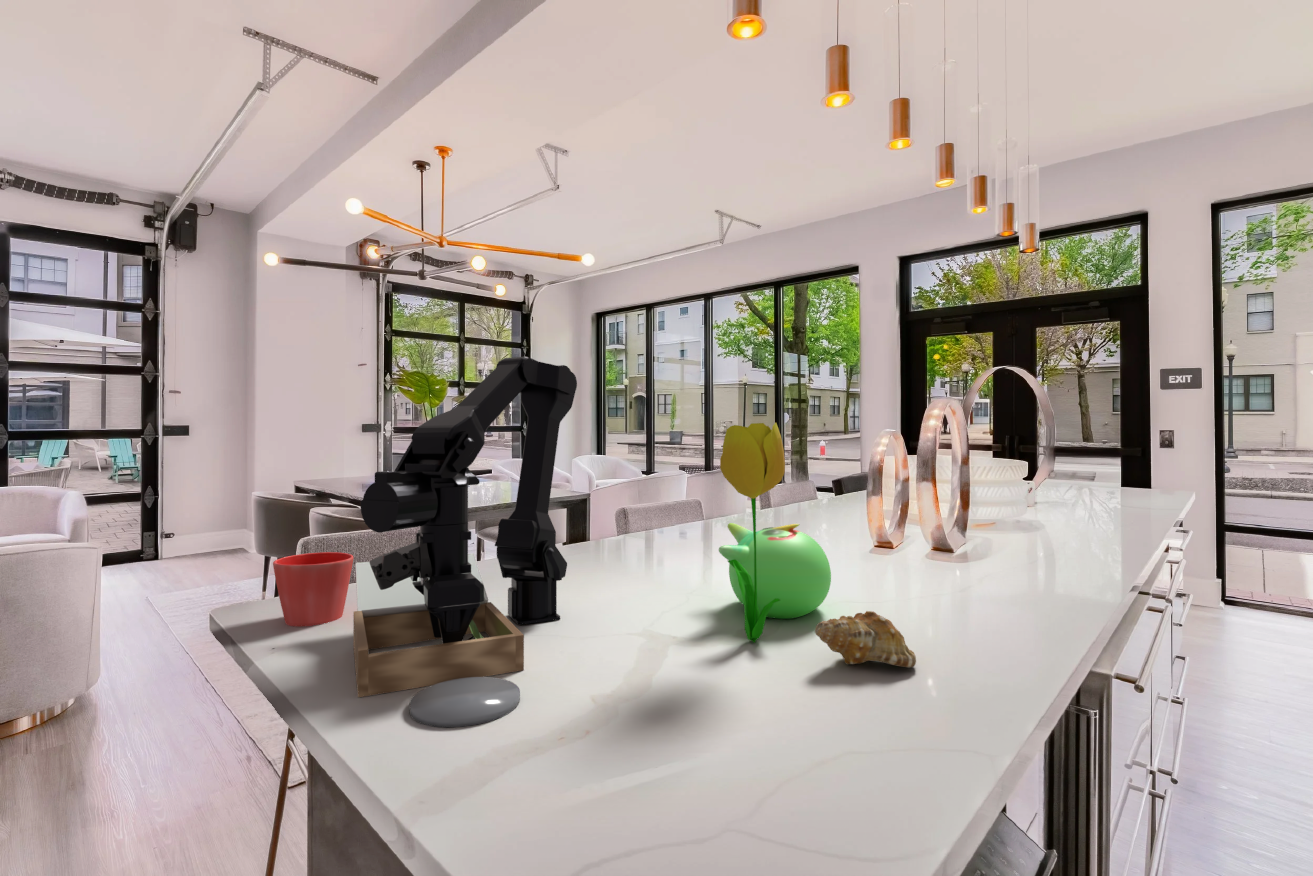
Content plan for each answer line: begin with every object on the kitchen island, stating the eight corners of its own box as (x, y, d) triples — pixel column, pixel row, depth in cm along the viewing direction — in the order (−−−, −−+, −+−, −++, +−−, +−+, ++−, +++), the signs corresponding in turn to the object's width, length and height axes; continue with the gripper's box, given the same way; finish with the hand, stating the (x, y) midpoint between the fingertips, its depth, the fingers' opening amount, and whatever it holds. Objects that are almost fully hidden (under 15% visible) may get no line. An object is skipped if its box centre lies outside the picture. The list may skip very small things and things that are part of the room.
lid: (473, 614, 101) (473, 553, 101) (488, 633, 91) (488, 565, 91) (355, 629, 93) (355, 562, 93) (357, 650, 83) (358, 576, 83)
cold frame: (490, 631, 92) (490, 596, 92) (523, 670, 76) (523, 628, 76) (353, 649, 84) (353, 611, 84) (358, 697, 68) (358, 650, 68)
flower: (792, 641, 87) (791, 422, 87) (778, 659, 80) (777, 420, 80) (732, 633, 91) (731, 423, 91) (713, 650, 83) (712, 422, 84)
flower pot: (320, 633, 91) (320, 565, 91) (255, 628, 93) (256, 562, 94) (368, 613, 102) (368, 553, 102) (308, 610, 104) (309, 551, 104)
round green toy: (837, 635, 90) (837, 531, 90) (718, 630, 92) (717, 529, 92) (824, 604, 107) (824, 517, 107) (725, 600, 110) (724, 515, 110)
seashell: (887, 707, 71) (841, 631, 71) (839, 696, 78) (798, 627, 78) (933, 655, 75) (890, 583, 75) (883, 650, 82) (844, 584, 82)
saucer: (506, 677, 73) (506, 670, 73) (532, 713, 64) (532, 705, 64) (404, 694, 68) (404, 687, 68) (416, 736, 59) (416, 727, 59)
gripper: (370, 518, 84) (369, 636, 84) (379, 536, 68) (378, 683, 67) (456, 514, 89) (456, 625, 89) (485, 530, 73) (484, 666, 73)
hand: (444, 647), depth 79 cm, fingers open, 9 cm apart
